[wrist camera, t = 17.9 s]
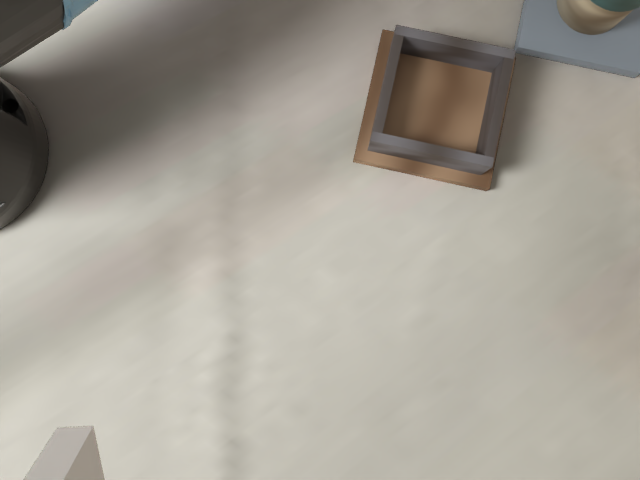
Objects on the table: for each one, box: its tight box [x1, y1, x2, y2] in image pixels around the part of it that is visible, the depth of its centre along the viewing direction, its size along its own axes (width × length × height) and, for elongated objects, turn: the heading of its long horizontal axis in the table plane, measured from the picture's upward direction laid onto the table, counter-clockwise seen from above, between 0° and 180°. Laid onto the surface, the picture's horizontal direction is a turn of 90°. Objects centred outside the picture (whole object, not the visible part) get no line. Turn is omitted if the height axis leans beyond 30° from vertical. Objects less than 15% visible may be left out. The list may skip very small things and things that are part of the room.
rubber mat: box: [514, 0, 640, 78], centre depth 44 cm, size 11×11×1 cm
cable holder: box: [353, 25, 516, 191], centre depth 42 cm, size 12×12×4 cm
